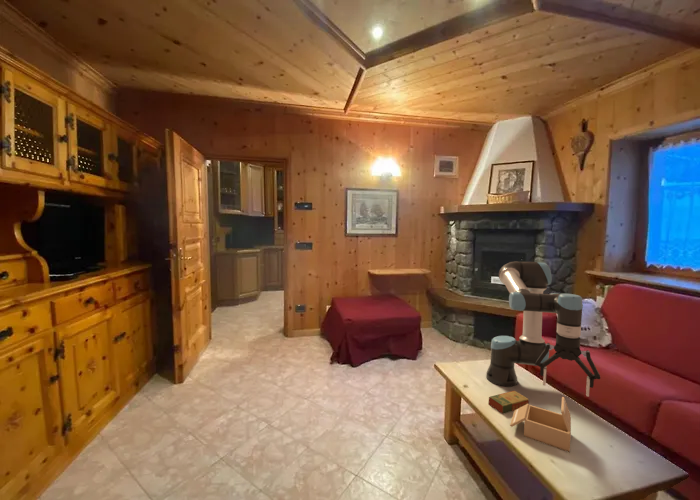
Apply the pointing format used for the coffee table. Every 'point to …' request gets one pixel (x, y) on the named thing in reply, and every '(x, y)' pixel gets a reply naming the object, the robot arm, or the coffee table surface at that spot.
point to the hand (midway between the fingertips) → (565, 389)
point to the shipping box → (543, 426)
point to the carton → (508, 401)
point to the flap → (565, 414)
